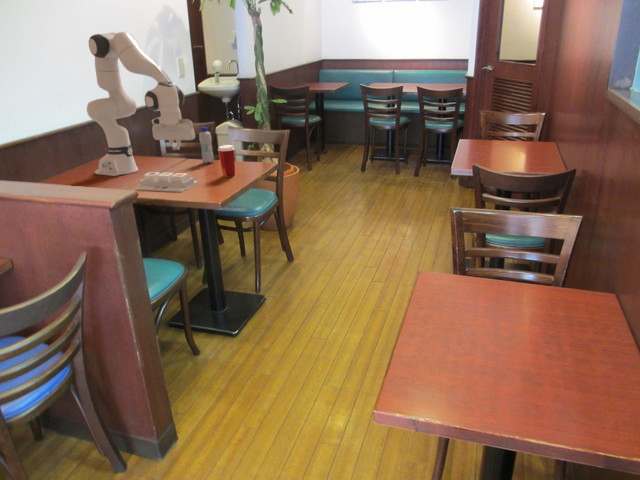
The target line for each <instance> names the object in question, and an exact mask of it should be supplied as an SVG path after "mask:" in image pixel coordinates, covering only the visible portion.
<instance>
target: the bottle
mask: <svg viewBox="0 0 640 480" xmlns="http://www.w3.org/2000/svg"><path fill="white" fill-rule="evenodd" d="M200 131H201V132H199V134H198V137H199V139H198V140H199V144H200V150H201V159H202V162H203V164H211V163H213V162H214V153H213V146H212V136H211V132H210V131H208V128H207V127H206V126H201V128H200Z"/></svg>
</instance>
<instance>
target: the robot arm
mask: <svg viewBox="0 0 640 480" xmlns="http://www.w3.org/2000/svg"><path fill="white" fill-rule="evenodd" d="M88 47H89V51H90V53H91V54H92V55H93V57H94V69H95V75H96V83H97V85H98V87H99V88H100V89H102V90H104V91H106V92H107V93H108V96H109V97H103V98H97V99H94V100H91V101H89V102H88V103H87V106H86V112H87V115H88V117H89V118H90V119H91V120H92V121H93V122H96V123H97V124H98V125H99V126H100V127H101V128H102V130H103V132H104V134H105V138H106V141H107V147H105V148H104V151H106V154H105V155H104V156H102V158H101V159H100V160H99V161H98V169H96V170H95V171H94V174H95V175H103V176H112V177H116V176H120V175H127V174H132V173H133V174H134V173H135V172H138V170H139V168H138V166H137V164H136V161H135V158H134V155H133V153H134V152H133V147H132V144H131V139H130V136H129V130H127V128H126V127H124V126H122V125H119V123H117V120H118V119H124V118H128V117H131V116H132V115H134V114H136V111H137V103H136V101H135V100H134V98H133V97H131V96H130V95H129V94H127V92H126V91H125V89H124V87H123V85H122V79H121V73H120V67H119V65H120V64H119V61H120V63H121V65H122V66H123V67H124V68H125V69H126V70H127V71H128V72H130V73H132V74H137V75H142V76H147V77H149V78H152V79H154V80H155V81H156V82H157V84H156V86H155V87H154V88H151V89H150V90H147V91H146V93H145V94H144V103H145V106H146V107H147V108H148V109H149V110H150V111H151V112H160V116H158V117H155V118H153V119H152V120H151V123H152V127H151V129H152V137H153V139H154V140H156V141H168V142H169V144H170V146H171V148H172V150H173V151H176V150H178V151H179V150H180V149H181V148H180V145H181V142H182V141H192V140H195V138H196V132H195V129H194V123H193V121H192V120H190V119H189V118H188V119H187V118H186V119H184V118H182V112H181V110H180V109H181V108H182V107H183V105H184V104H185V101H186V100H185V99H186V97H185V94H184V91H182V89H181V88H180V87H179V86H178V85H177V84H175V82H174V81H173V80H172V79H171V78H170V76H169V75H168V74H167V73H166V72H165V70H164V69H163V67H161V66H160V64H158V62H156V60H153V59H152V58H150V57H149V55H147V54H145V52H144V51H143V50H142V48H141V46H140V45H139V43H138V42H137V41H136V39H135V37H134V36H133V35H132V34H131V33H129V32H126V31H118V32H108V33H107V32H106V33H101V34H100V33H97V34H92V35H91V36H90V37H89V39H88ZM174 142H175V143H176V144H175V143H174Z"/></svg>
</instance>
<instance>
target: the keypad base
mask: <svg viewBox="0 0 640 480" xmlns="http://www.w3.org/2000/svg"><path fill="white" fill-rule="evenodd" d="M197 184H198V180H195V178H194V177H189V180H187V181H185V182H173V181H172V180H171V181H169V182H166V181H159V180H156V181H145V178H143V179H140V180H139V185H140V186H138V187H136V190H137V191H154V192H155V191H157V192H174V193H175V192H176V193H183V192H184V191H187V190H188V189H190V188H192V187H193V186H195V185H197Z"/></svg>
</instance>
